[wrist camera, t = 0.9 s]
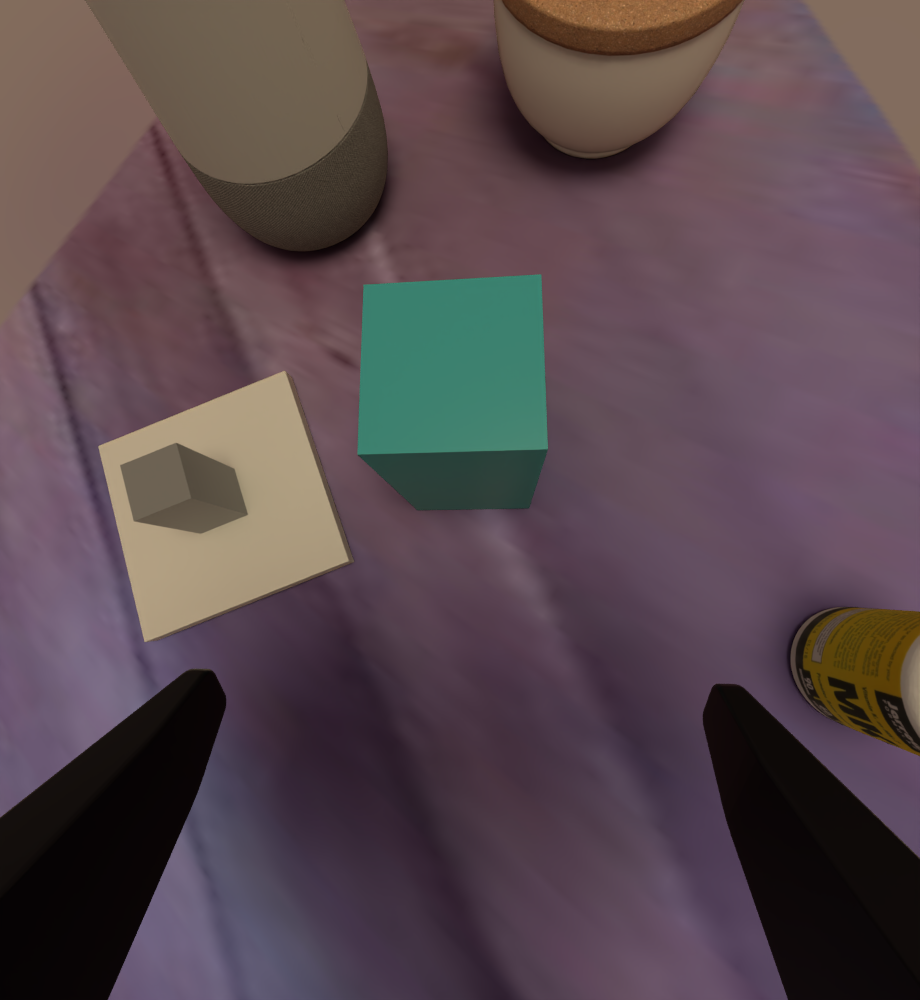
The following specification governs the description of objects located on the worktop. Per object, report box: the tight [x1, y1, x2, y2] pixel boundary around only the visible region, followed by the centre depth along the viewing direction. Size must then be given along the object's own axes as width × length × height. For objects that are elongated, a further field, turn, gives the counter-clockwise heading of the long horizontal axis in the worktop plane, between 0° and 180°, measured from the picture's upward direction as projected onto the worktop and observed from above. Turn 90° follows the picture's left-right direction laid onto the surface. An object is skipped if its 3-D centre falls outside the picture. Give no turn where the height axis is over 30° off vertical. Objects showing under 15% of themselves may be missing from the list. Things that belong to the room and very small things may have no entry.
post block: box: [98, 371, 354, 642], centre depth 21 cm, size 10×10×5 cm
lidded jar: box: [493, 0, 745, 159], centre depth 21 cm, size 11×11×9 cm
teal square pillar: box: [358, 275, 548, 510], centre depth 18 cm, size 5×5×10 cm
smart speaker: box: [85, 0, 388, 251], centre depth 20 cm, size 10×9×14 cm
